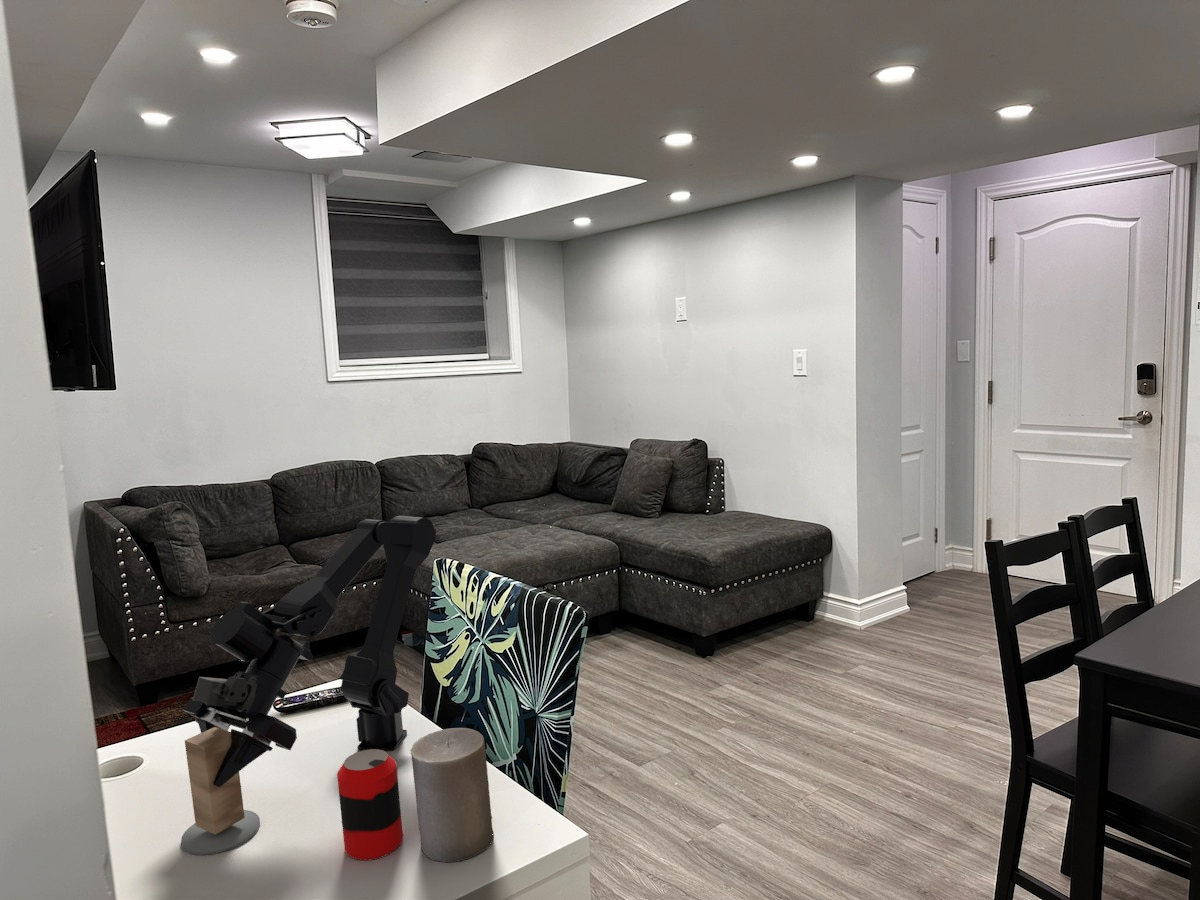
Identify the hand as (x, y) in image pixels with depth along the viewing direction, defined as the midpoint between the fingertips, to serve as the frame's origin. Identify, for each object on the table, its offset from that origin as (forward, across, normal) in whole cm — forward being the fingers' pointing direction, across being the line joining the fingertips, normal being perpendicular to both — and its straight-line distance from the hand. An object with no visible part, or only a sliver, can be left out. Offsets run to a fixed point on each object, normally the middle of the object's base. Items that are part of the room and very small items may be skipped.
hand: (205, 781), depth 115 cm
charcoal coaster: (+5, 0, +7) cm, 8 cm away
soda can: (-1, +22, +13) cm, 25 cm away
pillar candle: (-5, +31, +17) cm, 36 cm away
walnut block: (+4, 0, +6) cm, 7 cm away
